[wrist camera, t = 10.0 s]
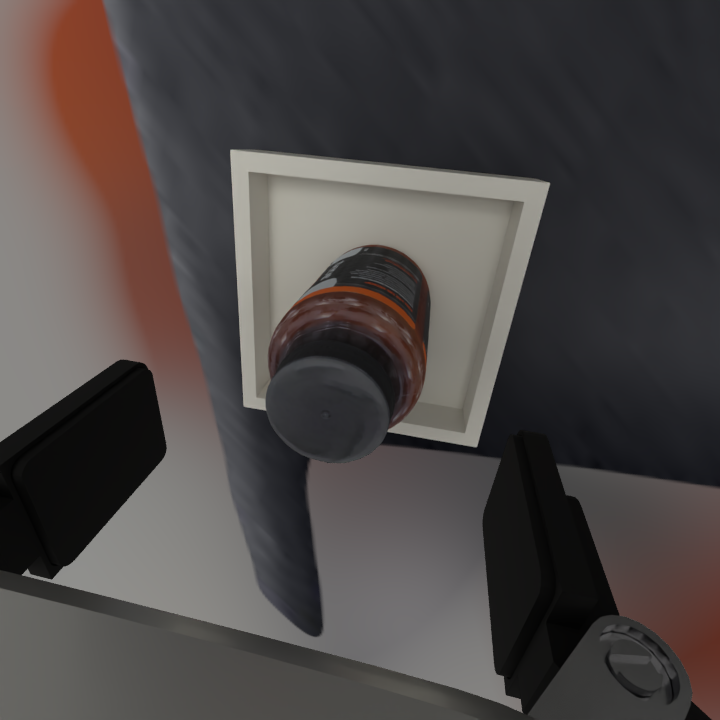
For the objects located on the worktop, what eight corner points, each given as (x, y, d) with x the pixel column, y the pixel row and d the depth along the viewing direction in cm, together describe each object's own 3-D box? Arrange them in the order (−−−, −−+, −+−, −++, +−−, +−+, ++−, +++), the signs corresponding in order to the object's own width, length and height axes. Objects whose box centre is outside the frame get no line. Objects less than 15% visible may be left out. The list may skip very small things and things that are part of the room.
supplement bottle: (319, 240, 22) (217, 317, 12) (434, 242, 21) (429, 327, 11) (325, 344, 24) (247, 477, 14) (427, 350, 24) (419, 497, 14)
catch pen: (256, 149, 21) (230, 149, 18) (535, 178, 19) (550, 183, 17) (262, 381, 27) (243, 406, 25) (472, 416, 26) (476, 447, 23)
